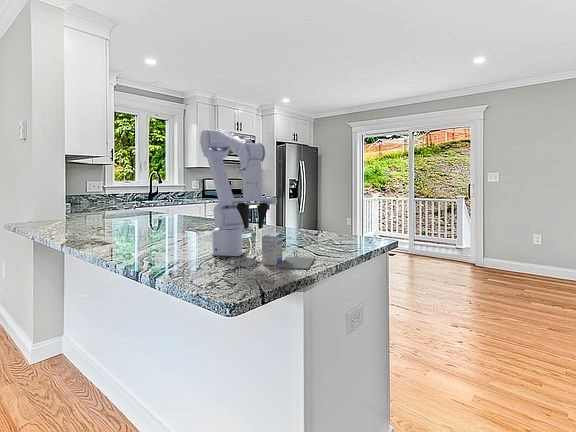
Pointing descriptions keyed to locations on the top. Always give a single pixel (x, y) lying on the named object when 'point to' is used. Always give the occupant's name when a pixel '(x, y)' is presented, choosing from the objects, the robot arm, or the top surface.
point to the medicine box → (272, 248)
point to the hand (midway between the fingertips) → (253, 228)
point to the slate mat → (296, 263)
